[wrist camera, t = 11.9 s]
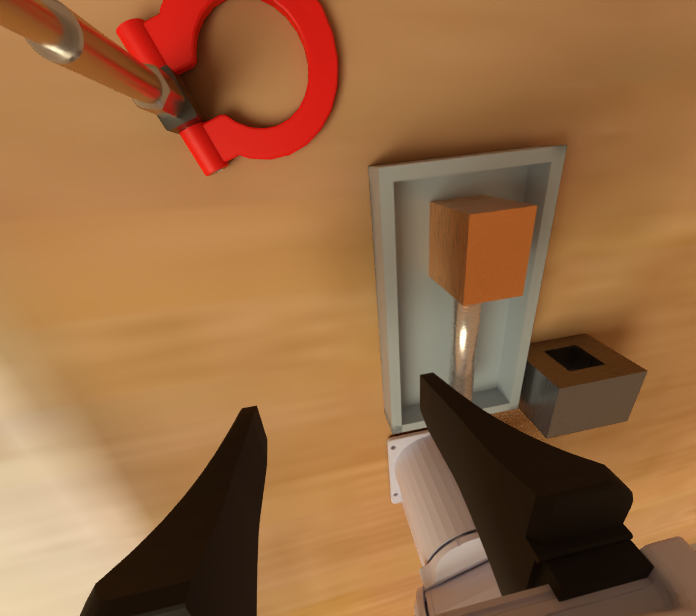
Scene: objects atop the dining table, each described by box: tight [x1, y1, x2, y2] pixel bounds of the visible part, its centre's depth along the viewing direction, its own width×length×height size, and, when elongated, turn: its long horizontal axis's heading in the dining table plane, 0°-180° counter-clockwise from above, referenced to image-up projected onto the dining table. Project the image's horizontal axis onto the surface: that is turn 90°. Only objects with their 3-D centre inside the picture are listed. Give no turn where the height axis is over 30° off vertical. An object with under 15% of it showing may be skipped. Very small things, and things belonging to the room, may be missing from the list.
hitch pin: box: [429, 195, 537, 402], centre depth 21 cm, size 15×4×5 cm, turn 6°
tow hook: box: [0, 0, 338, 176], centre depth 11 cm, size 8×13×9 cm
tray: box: [368, 145, 567, 434], centre depth 23 cm, size 20×11×2 cm, turn 6°
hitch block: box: [518, 334, 647, 438], centre depth 26 cm, size 5×7×5 cm
